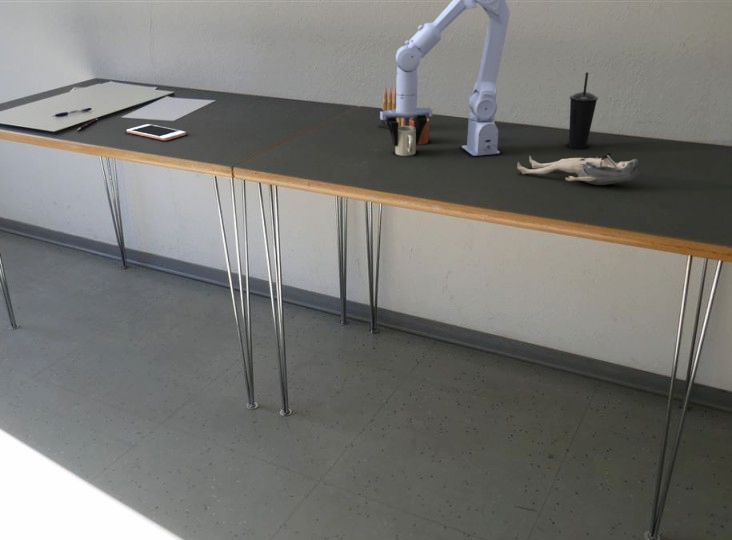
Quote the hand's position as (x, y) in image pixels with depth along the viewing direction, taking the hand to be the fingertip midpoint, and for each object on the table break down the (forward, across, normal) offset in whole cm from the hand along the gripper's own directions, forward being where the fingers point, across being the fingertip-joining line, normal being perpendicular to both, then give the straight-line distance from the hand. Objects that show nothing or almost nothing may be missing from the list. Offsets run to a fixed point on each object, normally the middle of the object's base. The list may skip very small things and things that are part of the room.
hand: (405, 144), depth 226 cm
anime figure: (+3, -34, +37) cm, 50 cm away
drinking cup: (+3, -49, +9) cm, 50 cm away
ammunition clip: (+3, -6, -27) cm, 28 cm away
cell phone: (+3, +67, -44) cm, 80 cm away
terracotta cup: (+3, -7, -11) cm, 13 cm away
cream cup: (+3, 0, +1) cm, 3 cm away
